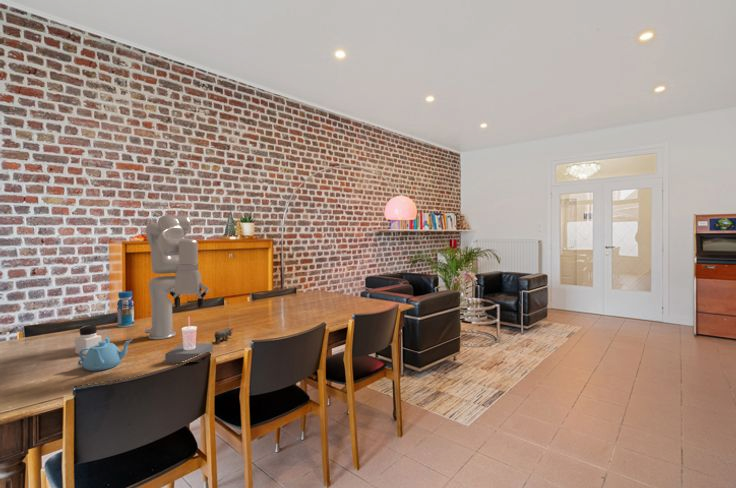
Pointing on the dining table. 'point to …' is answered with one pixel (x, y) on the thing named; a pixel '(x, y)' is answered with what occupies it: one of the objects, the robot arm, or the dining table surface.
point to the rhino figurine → (222, 334)
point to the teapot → (102, 356)
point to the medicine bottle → (87, 339)
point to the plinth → (187, 352)
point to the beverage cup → (189, 336)
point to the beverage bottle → (125, 309)
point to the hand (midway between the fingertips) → (188, 306)
